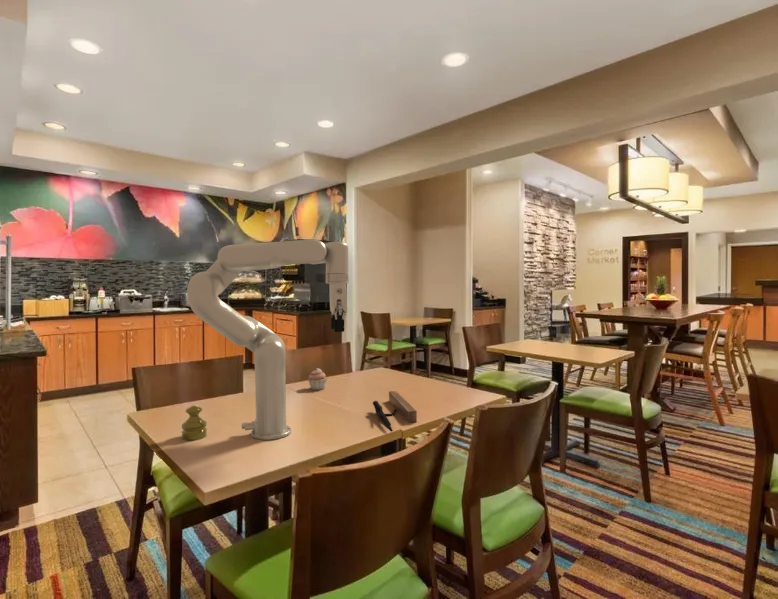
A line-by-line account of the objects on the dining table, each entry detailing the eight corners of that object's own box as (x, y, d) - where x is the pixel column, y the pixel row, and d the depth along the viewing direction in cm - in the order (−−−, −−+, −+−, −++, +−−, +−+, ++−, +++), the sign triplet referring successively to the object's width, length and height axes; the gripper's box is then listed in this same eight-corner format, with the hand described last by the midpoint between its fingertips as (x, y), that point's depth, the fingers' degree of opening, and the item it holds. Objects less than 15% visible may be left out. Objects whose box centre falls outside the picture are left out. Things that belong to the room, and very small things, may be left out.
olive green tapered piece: (181, 442, 137) (180, 410, 137) (182, 434, 144) (181, 404, 144) (207, 438, 140) (206, 407, 140) (206, 431, 147) (206, 401, 147)
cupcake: (308, 387, 211) (307, 366, 210) (327, 386, 212) (327, 365, 211) (306, 391, 201) (306, 369, 201) (327, 391, 202) (327, 369, 202)
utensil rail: (408, 422, 155) (408, 411, 155) (389, 400, 184) (388, 391, 184) (416, 422, 156) (416, 410, 156) (396, 400, 185) (395, 391, 185)
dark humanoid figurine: (409, 410, 147) (390, 388, 171) (384, 420, 145) (369, 396, 169) (415, 432, 148) (396, 407, 172) (391, 442, 147) (375, 415, 171)
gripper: (352, 278, 140) (352, 332, 141) (345, 279, 157) (345, 327, 158) (328, 278, 139) (328, 333, 139) (323, 279, 156) (324, 328, 156)
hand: (337, 330), depth 149 cm, fingers open, 9 cm apart
